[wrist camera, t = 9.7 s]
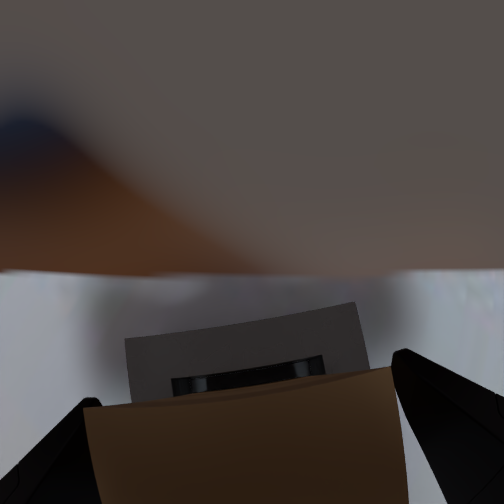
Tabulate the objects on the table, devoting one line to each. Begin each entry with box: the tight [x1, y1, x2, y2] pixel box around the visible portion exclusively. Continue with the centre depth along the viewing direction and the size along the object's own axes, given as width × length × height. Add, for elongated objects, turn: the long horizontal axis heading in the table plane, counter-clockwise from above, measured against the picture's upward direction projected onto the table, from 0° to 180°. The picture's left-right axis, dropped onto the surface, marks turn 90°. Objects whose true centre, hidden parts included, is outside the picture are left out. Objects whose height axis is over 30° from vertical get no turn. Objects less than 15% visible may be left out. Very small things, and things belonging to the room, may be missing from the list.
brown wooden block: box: [83, 366, 409, 504], centre depth 10 cm, size 3×5×13 cm, turn 99°
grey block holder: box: [125, 302, 370, 403], centre depth 14 cm, size 9×11×4 cm
